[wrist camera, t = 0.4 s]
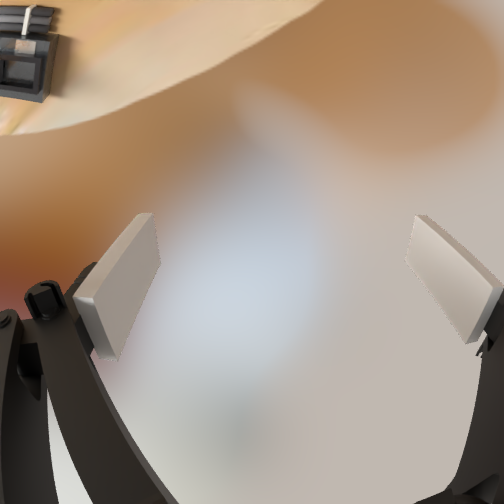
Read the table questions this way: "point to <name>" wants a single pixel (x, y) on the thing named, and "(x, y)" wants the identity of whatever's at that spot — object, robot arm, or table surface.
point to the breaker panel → (27, 64)
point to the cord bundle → (25, 18)
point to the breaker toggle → (1, 70)
